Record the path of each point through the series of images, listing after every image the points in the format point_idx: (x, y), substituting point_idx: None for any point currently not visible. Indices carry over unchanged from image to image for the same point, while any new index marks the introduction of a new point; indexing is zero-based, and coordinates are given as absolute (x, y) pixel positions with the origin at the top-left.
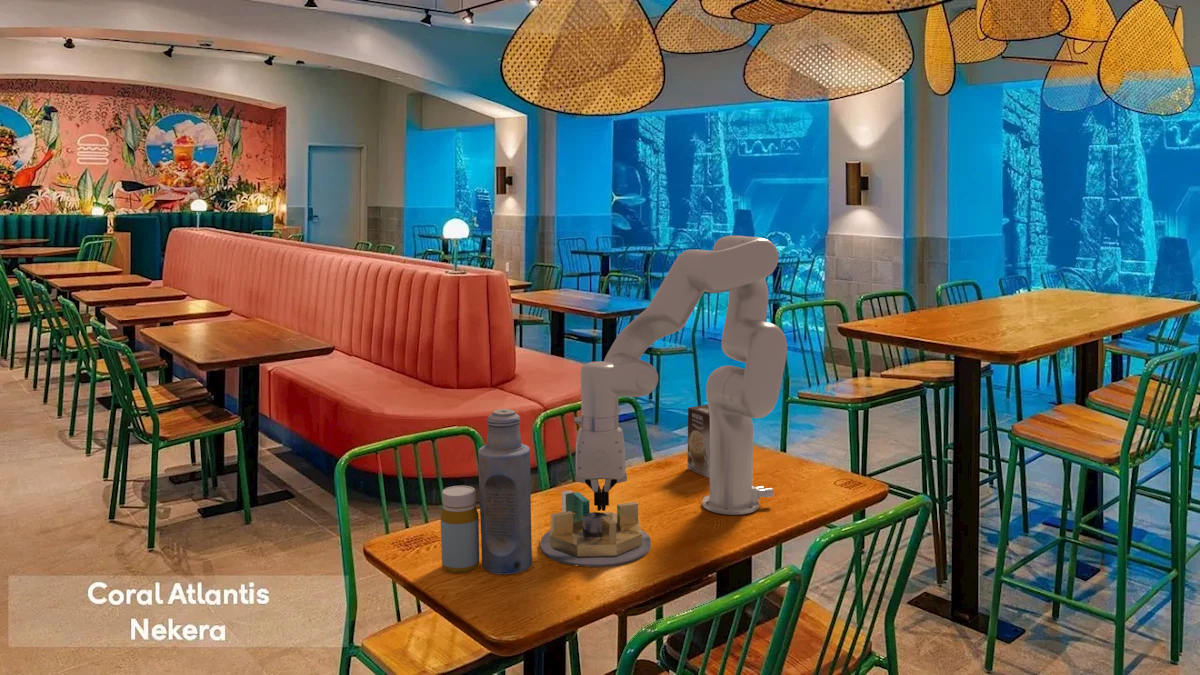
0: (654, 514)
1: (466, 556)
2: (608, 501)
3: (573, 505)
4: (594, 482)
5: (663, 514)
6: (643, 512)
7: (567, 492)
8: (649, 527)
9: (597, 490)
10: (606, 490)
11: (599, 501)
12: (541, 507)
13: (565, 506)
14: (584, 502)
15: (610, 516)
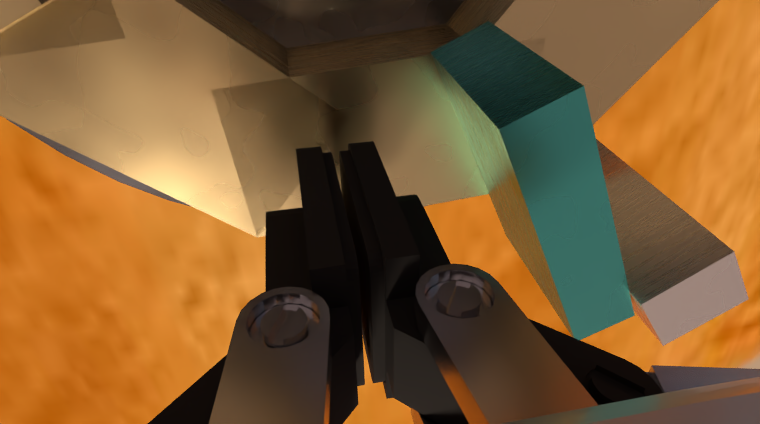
0: (66, 389)
1: None
2: (266, 230)
3: None
4: (514, 383)
5: (13, 398)
6: (138, 397)
7: (702, 291)
8: (7, 224)
9: (422, 287)
10: (288, 310)
11: (367, 190)
12: (619, 355)
13: (649, 185)
14: (556, 92)
15: (249, 147)
